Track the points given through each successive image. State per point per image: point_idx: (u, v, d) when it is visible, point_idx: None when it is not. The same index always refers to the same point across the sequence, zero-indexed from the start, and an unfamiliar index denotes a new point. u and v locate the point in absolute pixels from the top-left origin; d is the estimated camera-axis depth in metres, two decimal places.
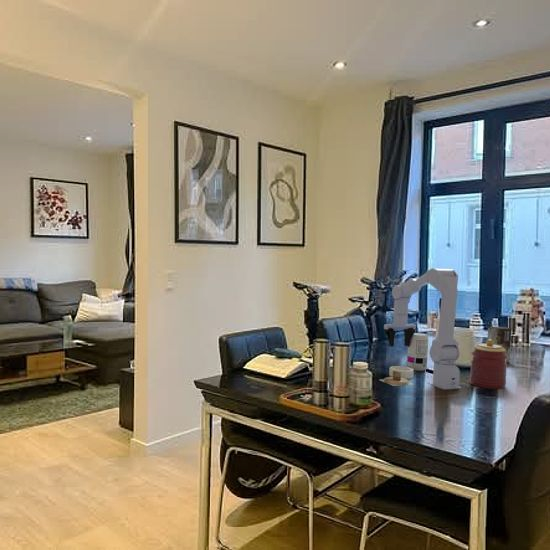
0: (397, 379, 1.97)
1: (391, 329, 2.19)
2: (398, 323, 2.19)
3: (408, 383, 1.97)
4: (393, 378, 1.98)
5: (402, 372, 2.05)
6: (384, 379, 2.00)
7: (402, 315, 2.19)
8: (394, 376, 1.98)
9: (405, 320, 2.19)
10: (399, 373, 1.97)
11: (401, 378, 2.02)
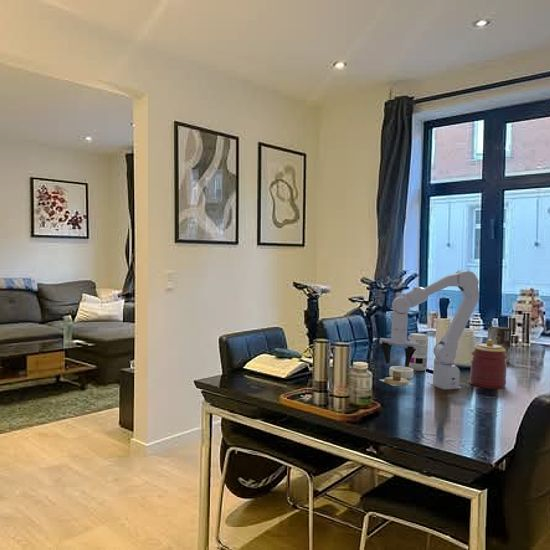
0: (397, 379, 1.97)
1: (385, 344, 2.00)
2: (391, 338, 1.98)
3: (408, 383, 1.97)
4: (393, 378, 1.98)
5: (402, 372, 2.05)
6: (384, 379, 2.00)
7: (394, 330, 1.96)
8: (394, 376, 1.98)
9: (397, 336, 1.96)
10: (399, 373, 1.97)
11: (401, 378, 2.02)
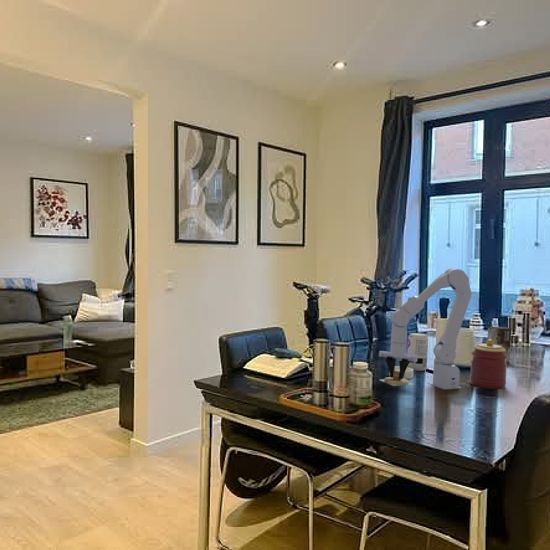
0: (397, 379, 1.97)
1: None
2: (390, 351, 1.98)
3: (408, 383, 1.97)
4: (393, 378, 1.98)
5: None
6: (384, 379, 2.00)
7: (393, 343, 1.97)
8: (394, 376, 1.98)
9: (397, 349, 1.96)
10: (399, 373, 1.97)
11: None
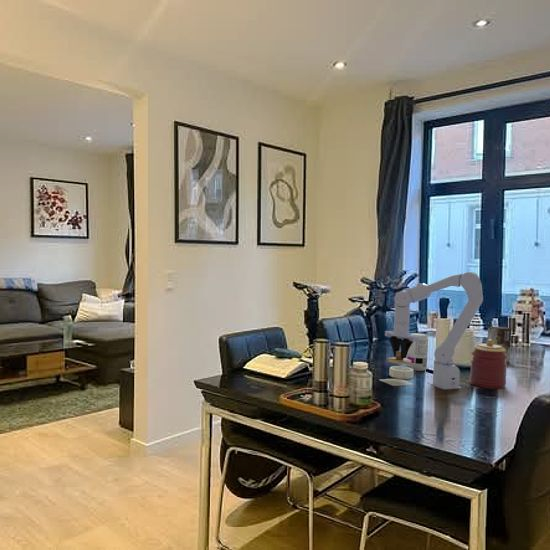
0: (399, 359, 2.02)
1: None
2: None
3: (410, 363, 2.00)
4: (395, 358, 2.03)
5: (402, 372, 2.05)
6: None
7: (395, 323, 2.02)
8: (396, 356, 2.02)
9: (398, 329, 2.01)
10: None
11: (406, 359, 2.05)
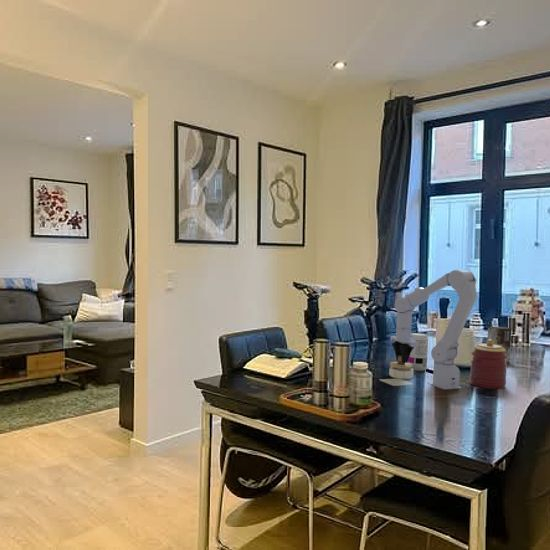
0: (400, 363, 2.08)
1: None
2: None
3: (410, 368, 2.05)
4: (397, 362, 2.09)
5: (402, 372, 2.05)
6: (390, 362, 2.12)
7: (396, 328, 2.08)
8: (398, 360, 2.08)
9: (398, 334, 2.07)
10: None
11: (408, 364, 2.10)
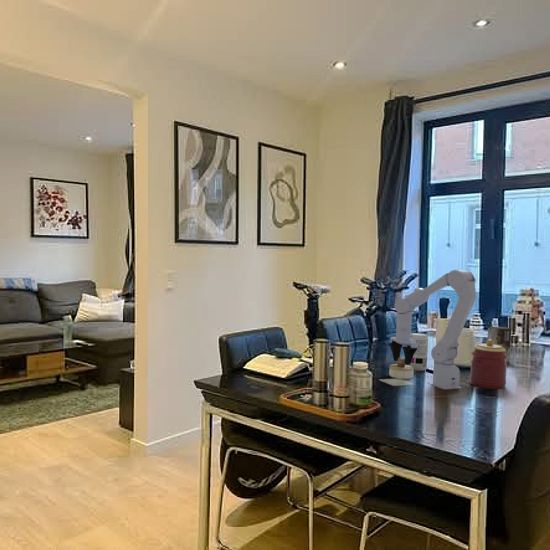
0: (400, 366, 2.08)
1: (393, 342, 2.13)
2: None
3: (410, 370, 2.06)
4: (397, 364, 2.09)
5: (402, 372, 2.05)
6: (390, 365, 2.12)
7: (396, 329, 2.08)
8: (398, 363, 2.08)
9: (398, 335, 2.07)
10: (402, 360, 2.08)
11: (408, 366, 2.10)
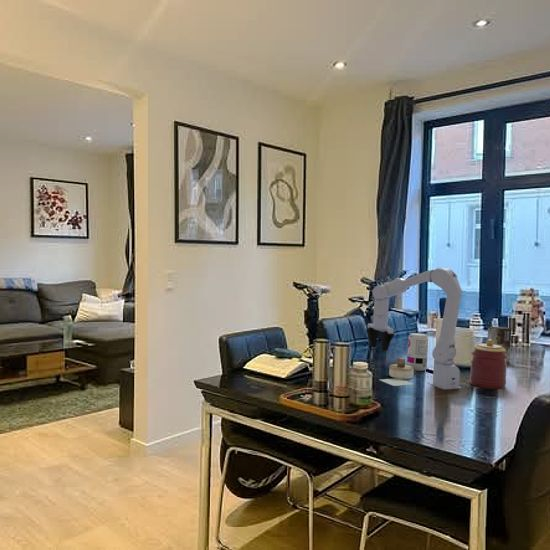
0: (400, 366, 2.08)
1: (371, 329, 2.15)
2: None
3: (410, 370, 2.05)
4: (397, 365, 2.09)
5: (402, 372, 2.05)
6: (390, 365, 2.11)
7: None
8: (398, 363, 2.08)
9: (375, 321, 2.10)
10: (402, 360, 2.07)
11: (408, 366, 2.10)
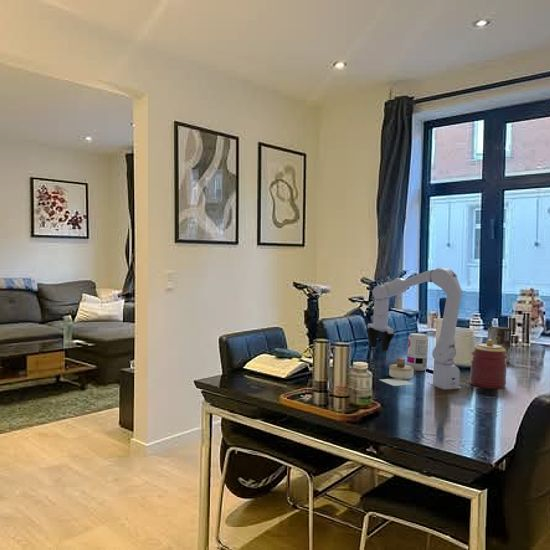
0: (399, 366, 2.07)
1: (371, 329, 2.15)
2: None
3: (409, 370, 2.05)
4: (397, 365, 2.09)
5: (402, 372, 2.05)
6: None
7: None
8: (397, 363, 2.08)
9: (375, 321, 2.10)
10: (401, 360, 2.07)
11: (408, 366, 2.10)
